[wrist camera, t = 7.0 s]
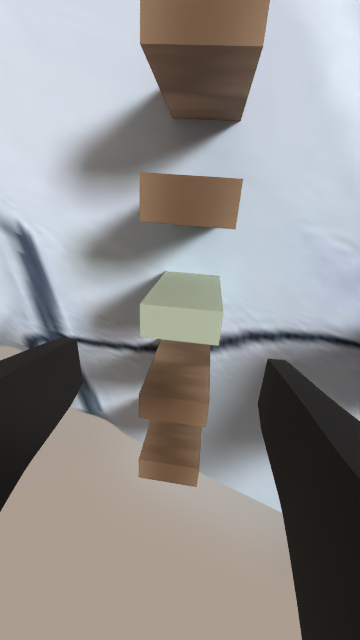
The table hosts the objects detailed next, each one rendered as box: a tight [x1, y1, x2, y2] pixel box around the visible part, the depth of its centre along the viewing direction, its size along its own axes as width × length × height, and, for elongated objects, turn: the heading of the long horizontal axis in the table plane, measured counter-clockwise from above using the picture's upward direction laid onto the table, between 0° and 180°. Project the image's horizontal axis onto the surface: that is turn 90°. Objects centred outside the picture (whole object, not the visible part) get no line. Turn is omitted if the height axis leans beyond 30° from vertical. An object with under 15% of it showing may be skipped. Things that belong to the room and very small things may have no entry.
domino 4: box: [139, 339, 210, 427], centre depth 18 cm, size 4×2×7 cm, turn 86°
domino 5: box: [139, 419, 201, 487], centre depth 20 cm, size 4×2×7 cm, turn 86°
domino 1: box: [140, 0, 270, 121], centre depth 11 cm, size 4×2×7 cm, turn 86°
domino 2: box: [140, 172, 243, 229], centre depth 13 cm, size 4×2×7 cm, turn 86°
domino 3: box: [140, 271, 223, 346], centre depth 15 cm, size 4×2×7 cm, turn 87°
